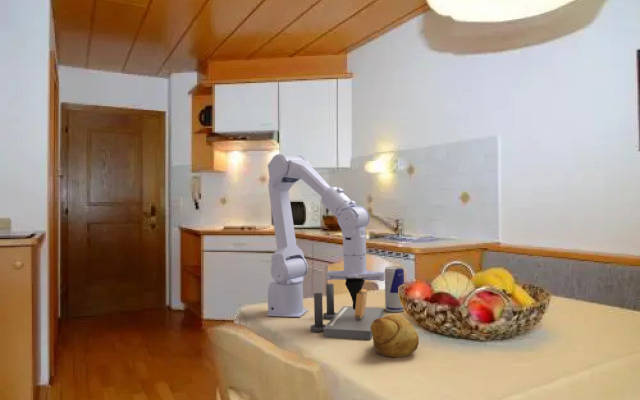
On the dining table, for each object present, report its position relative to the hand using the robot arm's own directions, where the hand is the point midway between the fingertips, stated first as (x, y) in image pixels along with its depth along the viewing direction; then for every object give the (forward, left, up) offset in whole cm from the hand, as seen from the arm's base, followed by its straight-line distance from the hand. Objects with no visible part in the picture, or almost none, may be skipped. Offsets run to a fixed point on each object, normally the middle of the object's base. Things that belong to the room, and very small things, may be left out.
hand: (356, 308), depth 120 cm
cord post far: (-8, +6, -4) cm, 11 cm away
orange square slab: (+1, 0, -2) cm, 2 cm away
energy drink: (+8, +17, -5) cm, 19 cm away
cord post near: (-8, -6, -4) cm, 11 cm away
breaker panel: (0, 0, -4) cm, 4 cm away
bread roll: (+11, -16, -5) cm, 21 cm away
